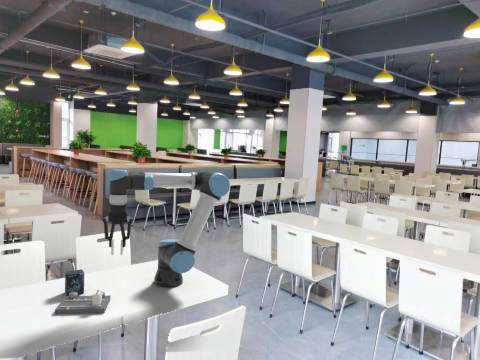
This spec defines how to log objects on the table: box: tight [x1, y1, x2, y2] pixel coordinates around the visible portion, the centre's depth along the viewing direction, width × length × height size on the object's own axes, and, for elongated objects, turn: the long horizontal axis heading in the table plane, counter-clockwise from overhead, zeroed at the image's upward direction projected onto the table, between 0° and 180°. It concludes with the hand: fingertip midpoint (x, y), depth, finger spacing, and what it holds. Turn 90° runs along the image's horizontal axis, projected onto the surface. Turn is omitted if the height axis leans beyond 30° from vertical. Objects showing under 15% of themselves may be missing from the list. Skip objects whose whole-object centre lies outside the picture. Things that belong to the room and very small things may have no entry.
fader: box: [92, 289, 103, 306], centre depth 165 cm, size 3×5×5 cm, turn 9°
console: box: [54, 291, 112, 315], centre depth 167 cm, size 20×14×4 cm
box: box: [64, 269, 85, 296], centre depth 181 cm, size 8×6×11 cm
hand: (117, 253), depth 172 cm, fingers open, 3 cm apart
